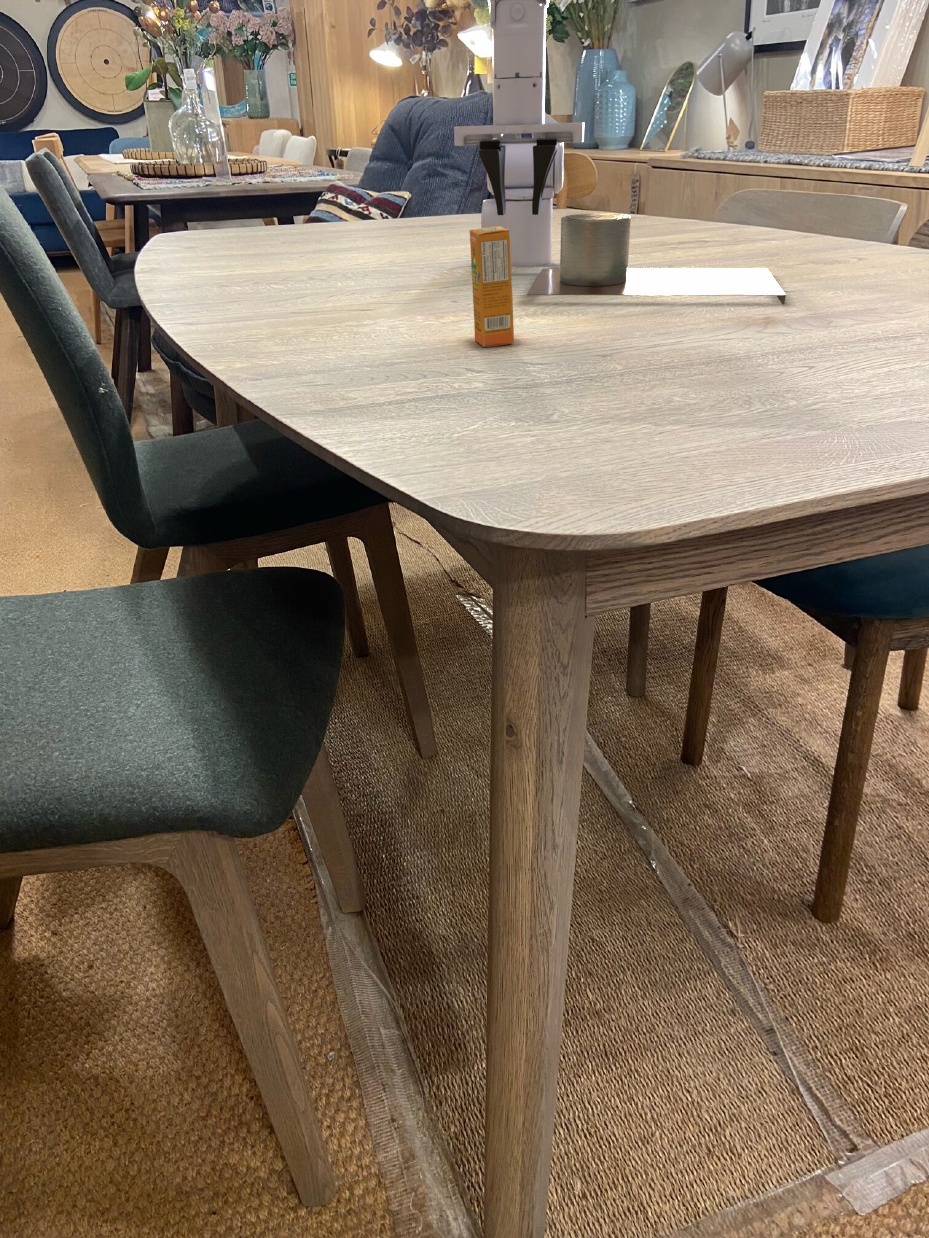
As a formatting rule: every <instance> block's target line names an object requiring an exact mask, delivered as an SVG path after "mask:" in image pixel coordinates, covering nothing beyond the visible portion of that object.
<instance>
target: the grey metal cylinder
mask: <svg viewBox="0 0 929 1238" xmlns="http://www.w3.org/2000/svg"><path fill="white" fill-rule="evenodd" d="M631 218H632V217H631V215H629V214H624V213H611V212H610V213H609V212H608V213H607V212H606V213H605V212H599V213H598V212H597V213H594V212H593V213H591V212H590V213H577V214H569V215H564V216H562V217H561V218H560V220H561V221H560V257H559V259H560V260H559V269H560V282H561V283H563V284H567V285H573V286H610V285H617V284H622V283H624V282H626V281H627V274H628V269H629V258H630V257H629V256H630V240H631V238H630V236H631V223H632V222H631V221H632V219H631Z"/></svg>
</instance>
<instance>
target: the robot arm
mask: <svg viewBox="0 0 929 1238" xmlns="http://www.w3.org/2000/svg"><path fill="white" fill-rule="evenodd" d="M487 2H488V6H489V7H488V8H489V23H490V24H489V25H490V29H491V31H492V111H493V116H492V118H493V119H492V121H493V123H492V124H489V125H488V124H487V125H485V124H484V125H461V126H460V125H458V126H454V127H453V137H454V142H453V143H454V147H464V146H479V149H478V151H477V152H478V156H479V158H480V161H481V162H482V165H483V166H484V167H483V168H484V169H485V172H486V183H487V190H488V191H489V192H490V194H491V195H493V197H494V198H489V199H488V198H487V199H484V200H483V201H482V205H481V216H480V217H481V218H480V220H481V221H480V228H487V227H497V226H501V227H502V228H504V229H509V230H510V231H509V233H510V251H511V267H537V266H544V265H549V264H551V263H552V261H553V260H552V259H553V258H552V257H553V256H552V255H553V251H552V250H553V207H554V205H553V204H554V201H553V200H554V196H555V194H559V193H560V191H562V189H563V188H564V187H563V186H564V153H565V152H564V151H565V150H564V149H565V147H564V146H565V145H564V143H573V144H574V143H575V144H577V143H583V142H584V141H585V122H583V121H582V122H558V121H556V120H555V118H553V117H551V116H550V115H549V114H548V113H547V112H546V111H545V103H546V102H545V101H546V100H545V99H546V98H545V97H546V29H547V28H546V27H547V26H546V24H547V21H546V20H547V19H546V18H547V8H549V3H550V0H487Z"/></svg>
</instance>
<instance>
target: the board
mask: <svg viewBox="0 0 929 1238" xmlns="http://www.w3.org/2000/svg"><path fill="white" fill-rule="evenodd" d="M526 296H776V297H777V299H778V301H779V302H780V303H781V305H785V303H786V296H787V295H786V293H785V292H784V290H783V289H782V288H781V286H780V285H779V283H778V282H777V281H776V279H775V278H774V277H773V275H772V273H771V272H770V271H769V269H768V268H767V267H714V268H713V267H705V268H704V267H702V268H701V267H700V268H699V267H697V268H696V267H695V268H694V267H692V268H691V267H690V268H689V267H688V268H687V267H681V268H680V267H679V268H677V267H676V268H667V267H665V268H663V267H662V268H658V267H657V268H653V267H652V268H651V267H650V268H647V267H646V268H645V267H643V268H628V274H627V281H626V282H624V283H622V284H617V285H610V286H573V285H567V284H563V283H561V282H560V268H542V269H541V271H540V273H539V274H538V275H537V277H536V279H535V281H534V282H533V283H532V285H531V287H530V289H528V291H527V293H526Z"/></svg>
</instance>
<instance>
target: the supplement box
mask: <svg viewBox="0 0 929 1238" xmlns="http://www.w3.org/2000/svg"><path fill="white" fill-rule="evenodd" d="M468 231H469V241H470V242H469V244H470V266H471V286H472V305H473V327H474V341H475V342H476V343H477V344H479V345H481V346H482V347H484V348H487V347H488V348H489V347H498V346H505V345H510V344H511V345H513V344H514V343H515V342H514V341H515V330H514V303H513V301H514V300H513V299H514V298H513V280H512V279H513V278H512V277H513V275H512V274H513V273H512V266H511V251H510V233H509V231H510V230H509V229H504V228H502V227H501V226H497V227H487V228H481V227H479V228H474V229H469V230H468Z"/></svg>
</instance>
